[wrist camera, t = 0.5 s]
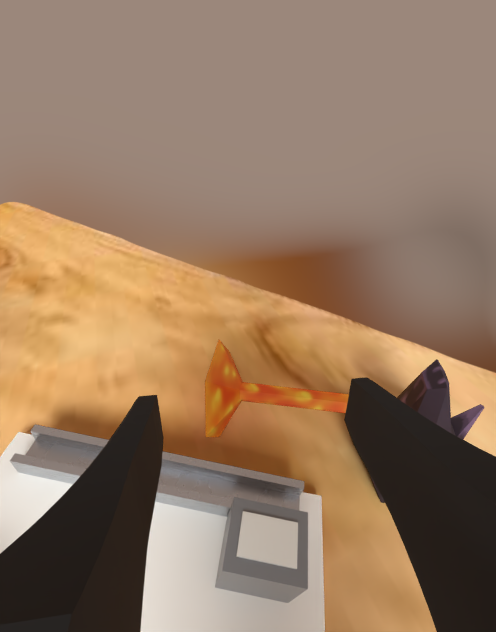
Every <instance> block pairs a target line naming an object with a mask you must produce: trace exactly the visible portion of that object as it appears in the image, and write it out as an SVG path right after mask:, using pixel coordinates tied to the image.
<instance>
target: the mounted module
mask: <svg viewBox="0 0 496 632" xmlns="http://www.w3.org/2000/svg"><path fill="white" fill-rule="evenodd" d="M215 588H219V589H224V590H229V591H233V592H238V593H243V594H247V595H252V596H257V597H261V598H266V599H271V600H275V601H280V602H285V603H289V602H290V601H292V600H293V599H294V598H296V597H297V596H299V595H300V594H302V593H303V592H304V591H306V590H307V589H308V512H304V511H299V510H294V509H290V508H285V507H280V506H276V505H271V504H266V503H261V502H257V501H252V500H247V499H243V498H238V497H234V498H233V502H232V505H231V508H230V511H229V514H228V517H227V520H226V525H225V531H224V537H223V543H222V549H221V555H220V560H219V566H218V572H217V578H216V584H215Z"/></svg>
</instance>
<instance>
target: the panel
mask: <svg viewBox="0 0 496 632" xmlns="http://www.w3.org/2000/svg"><path fill="white" fill-rule="evenodd" d="M34 441H35V439H34V437H33V435H31V434H26V433H22V432H18V433H17V435H16V436H15V437H14V439H13V440H12V442H11V443H10V444H9V446H8V447H7V448H6V450H5V451H4V453H3V454H2V455H1V457H0V553H1V552H3V551H4V550H5V549H6V548H7V547H8V546H9V545H11V544H12V543H13V542H14V541H15V540H16V539H17V538H19V537H20V536H21V535H22V534H23V533H24V532H25V531H27V530H28V529H29V528H30V527H31V526H32V525H33V524H34V523H35V522H36V521H37V520H38V519H40V518H41V517H42V516H43V515H44V514H45V513H46V512H47V511H48V510H49V509H50V508H51V507H52V506H53V505H54V504H55V503H56V502H57V501H58V500H59V499H60V498H61V497H62V496H63V495H64V494H65V493H66V491H67V490H68V489H69V488H70V487H71V486H72V485H73V484H70V483H65V482H60V481H56V480H51V479H46V478H42V477H37V476H32V475H28V474H23V473H18V472H17V470H16V469H15V468H14V466H13V465H12V464H11V462H10V460H11V458H12V457H13V455H14V454H15V453H17V454H22V455H25V454H26V453H27V451H28V450H29V448H30V447H31V446H32V444H33V443H34ZM299 511H304V512H308V589H307V590H306V591H304V592H303V593H302V594H300V595H299V596H297V597H296V598H294V599H293V600H292V601H290V602H289V603H285V602H280V601H275V600H271V599H266V598H261V597H257V596H252V595H247V594H243V593H238V592H233V591H229V590H224V589H219V588H215V584H216V578H217V572H218V566H219V560H220V555H221V549H222V543H223V537H224V531H225V525H226V520H227V517H225V516H220V515H216V514H211V513H206V512H202V511H197V510H192V509H187V508H183V507H178V506H173V505H169V504H164V503H159V502H155V505H154V511H153V516H152V522H151V527H150V533H149V540H148V548H147V558H146V569H145V580H144V593H143V605H142V617H141V631H140V632H325V614H324V575H323V537H322V498H321V496H319V495H314V494H310V493H305V492H302V493H301V495H300V502H299Z"/></svg>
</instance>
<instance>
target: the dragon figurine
mask: <svg viewBox="0 0 496 632" xmlns="http://www.w3.org/2000/svg"><path fill="white" fill-rule="evenodd" d="M348 397H349V394H341V393H332V392H323V391H315V390H306V389H297V388H289V387H280V386H271V385H262V384H254V383H245V382H242V380H241V377H240V375H239V373H238V370H237V368H236V366H235V363H234V361H233V359H232V356H231V354H230V352H229V351H228V349H227V348H226V347H225V346H224V345H223V343H222V342H221V341H220V340H219V341H218V344H217V347H216V350H215V353H214V356H213V359H212V362H211V365H210V368H209V371H208V374H207V377H206V380H205V412H206V437H220V435H221V434H222V432H223V430H224V429H225V427H226V425H227V424H228V422H229V420H230V419H231V417H232V415H233V414H234V412H235V410H236V409H237V407H238V405H239V404H240V402H241V401H248V402H257V403H265V404H273V405H282V406H290V407H299V408H307V409H315V410H324V411H332V412H341V413H346V408H347V403H348ZM397 398H398V399H399V400H400V401H402V402H403V403H405V404H406V405H408V406H409V407H411V408H412V409H414V410H415V411H416V412H418V413H419V414H421V415H423V416H424V417H426V418H427V419H429V420H430V421H432V422H433V423H435V424H437V425H438V426H440V427H442V428H443V429H445V430H446V431H448V432H450V433H452V434H453V435H455V436H457V437H459V438H460V439H462V440H463V439H464V437H465V436H466V434H467V433H468V431H469V430H470V428H471V427H472V425H473V424H474V422H475V421H476V419H477V418H478V416H479V415H480V413H481V412H482V410H483V409H484V406H482V405H481V404H480V405H478V406H476V407H473V408H471V409H469V410H467V411H465V412H463V413H461V414H459V415H456V416H454V417H452V418H451V414H450V394H449V382H448V379H447V376H446V374H445V371H444V369H443V368H442V366H441V365H440V363H439V361H438V360H435V361H434V362H433V363H432V364H431V365H430V366H429V367H427V368H426V369H425V370H424V371H423V372H422V373H421V374H420V375H419V376H418V377H417V378H416V379H415V380H414V381H413V382H412V383H411V384H410V385H409V386H408V387H407V388H406V389H405V390H404V391H403V392H402V393H401V394H400V395H399V396H398V397H397ZM370 476H371V475H370ZM371 479H372V477H371ZM372 481H373V479H372ZM373 484H374V486H375V489H376V491H377V494H378V496H379V499H380V501H381V503H385V501H384V499H383V497H382V496H381V494H380V492H379V490H378V488H377V486H376V485H375V483H374V481H373Z"/></svg>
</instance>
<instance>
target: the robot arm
mask: <svg viewBox="0 0 496 632" xmlns="http://www.w3.org/2000/svg"><path fill="white" fill-rule="evenodd" d="M344 420H345V423H346V425H347V428H348V431H349V434H350V436H351V439H352V441H353V443H354V446H355V448H356V450H357V451H358V453H359V455H360V457H361V459H362V461H363V463H364V464H365V466H366V468H367V470H368V472H369V474H370V475H371V477H372V479H373V481H374V483H375V485H376V486H377V488H378V490H379V492H380V494H381V496H382V497H383V499H384V501H385V503H386V505H387V507H388V509H389V511H390V513H391V515H392V518H393V520H394V522H395V525H396V527H397V529H398V532H399V534H400V536H401V539H402V541H403V543H404V546H405V548H406V551H407V553H408V556H409V558H410V561H411V563H412V566H413V568H414V571H415V573H416V576H417V578H418V581H419V584H420V586H421V589H422V592H423V594H424V597H425V600H426V602H427V605H428V608H429V610H430V613H431V616H432V619H433V622H434V625H435V628H436V630H437V632H496V457H495V456H493V455H491V454H489V453H487V452H485V451H483V450H481V449H479V448H477V447H475V446H473V445H472V444H470V443H468V442H466V441H464V440H462V439H460V438H459V437H457V436H455V435H453V434H452V433H450V432H448V431H446V430H445V429H443V428H442V427H440V426H438V425H437V424H435V423H433V422H432V421H430V420H429V419H427V418H426V417H424V416H423V415H421V414H419V413H418V412H416V411H415V410H414V409H412V408H411V407H409V406H408V405H406V404H405V403H403V402H402V401H400V400H399V399H398V398H396V397H395V396H393V395H392V394H390V393H389V392H388V391H386V390H385V389H383V388H382V387H381V386H379V385H378V384H376V383H375V382H373V381H372V380H370V379H369V378H356V379H352V380H351V386H350V391H349V397H348V403H347V408H346V414H345V419H344ZM162 452H163V432H162V425H161V419H160V412H159V405H158V399H157V395H151V396H139V397H138V398H137V399H136V401H135V402H134V404H133V406H132V407H131V409H130V410H129V412H128V414H127V415H126V417H125V418H124V420H123V421H122V423H121V424H120V426H119V427H118V428H117V430H116V431H115V433H114V434H113V435H112V437H111V438H110V440H109V441H108V442H107V444H106V445H105V446H104V448H103V449H102V450H101V452H100V453H99V454H98V455H97V457H96V458H95V459H94V460H93V462H92V463H91V464H90V465H89V467H88V468H87V469H86V470H85V471H84V473H83V474H82V475H81V476H80V477H79V478H78V479H77V481H76V482H75V483H74V484H73V485H72V486H71V487H70V488H69V489H68V490H67V491H66V493H65V494H64V495H63V496H62V497H61V498H60V499H59V500H58V501H57V502H56V503H55V504H54V505H53V506H52V507H51V508H50V509H49V510H48V511H47V512H46V513H45V514H44V515H43V516H42V517H41V518H40V519H38V520H37V521H36V522H35V523H34V524H33V525H32V526H31V527H30V528H29V529H28V530H27V531H25V532H24V533H23V534H22V535H21V536H20V537H19V538H17V539H16V540H15V541H14V542H13V543H12V544H11V545H9V546H8V547H7V548H6V549H5V550H4V551H3V552H1V553H0V632H140V631H141V617H142V605H143V593H144V580H145V569H146V558H147V548H148V540H149V533H150V527H151V522H152V516H153V511H154V505H155V500H156V494H157V489H158V483H159V477H160V472H161V466H162Z"/></svg>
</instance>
